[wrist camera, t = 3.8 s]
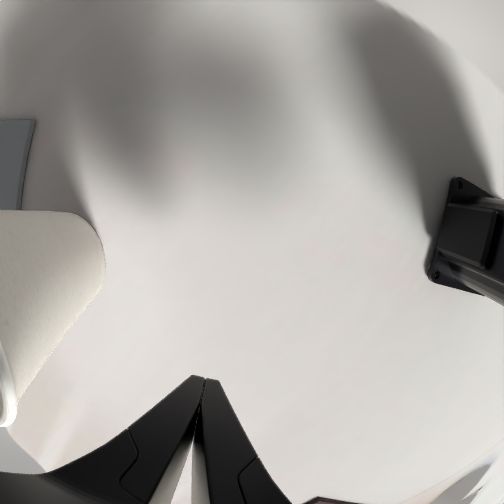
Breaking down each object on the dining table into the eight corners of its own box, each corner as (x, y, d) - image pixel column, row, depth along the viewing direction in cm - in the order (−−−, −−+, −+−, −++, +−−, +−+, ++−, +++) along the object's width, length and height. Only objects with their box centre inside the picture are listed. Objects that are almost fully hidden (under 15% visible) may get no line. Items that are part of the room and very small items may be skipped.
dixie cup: (10, 213, 13) (-107, 242, 4) (105, 167, 13) (-53, 159, 3) (47, 331, 15) (-42, 412, 5) (147, 315, 15) (56, 447, 5)
